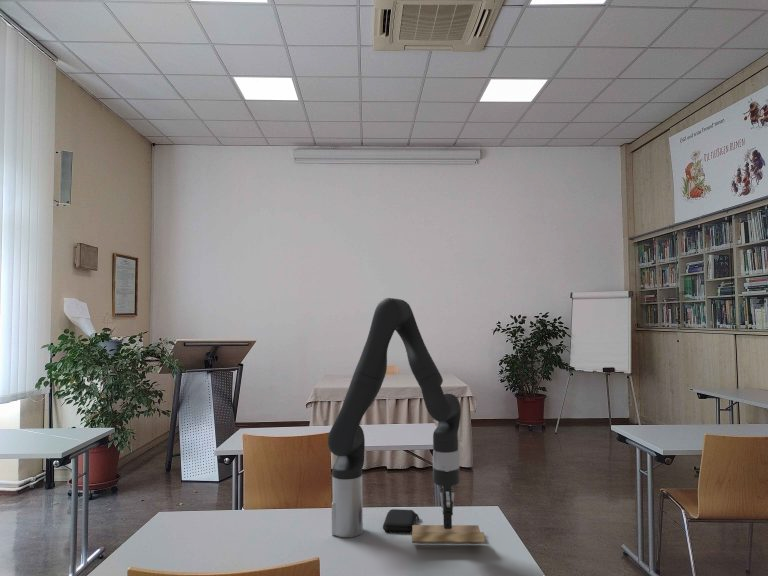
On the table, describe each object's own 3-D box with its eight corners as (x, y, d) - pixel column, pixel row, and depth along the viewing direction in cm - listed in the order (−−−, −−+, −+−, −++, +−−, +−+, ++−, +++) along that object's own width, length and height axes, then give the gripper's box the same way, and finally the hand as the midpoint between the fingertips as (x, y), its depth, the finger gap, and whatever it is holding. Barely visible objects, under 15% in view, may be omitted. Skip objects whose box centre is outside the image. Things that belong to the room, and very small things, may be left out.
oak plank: (412, 541, 150) (412, 531, 151) (412, 542, 157) (412, 533, 158) (484, 541, 149) (483, 532, 150) (481, 543, 156) (480, 534, 157)
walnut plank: (412, 541, 159) (412, 532, 159) (412, 533, 165) (412, 525, 165) (480, 541, 158) (480, 533, 158) (478, 533, 164) (478, 525, 164)
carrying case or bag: (416, 535, 164) (420, 517, 179) (416, 525, 164) (420, 508, 179) (381, 534, 166) (388, 516, 180) (381, 524, 166) (388, 507, 180)
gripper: (432, 459, 160) (433, 519, 159) (433, 472, 147) (435, 537, 146) (457, 459, 160) (459, 519, 159) (461, 472, 147) (463, 537, 146)
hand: (447, 528), depth 152 cm, fingers closed
